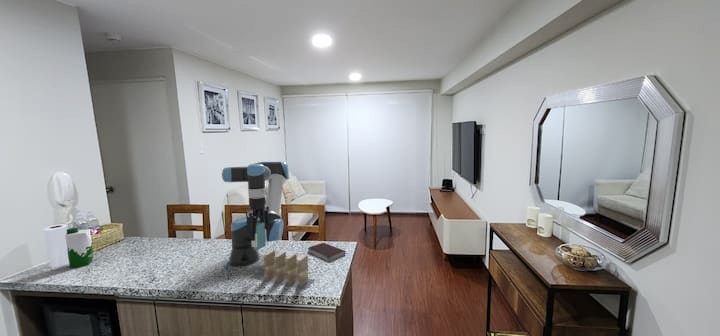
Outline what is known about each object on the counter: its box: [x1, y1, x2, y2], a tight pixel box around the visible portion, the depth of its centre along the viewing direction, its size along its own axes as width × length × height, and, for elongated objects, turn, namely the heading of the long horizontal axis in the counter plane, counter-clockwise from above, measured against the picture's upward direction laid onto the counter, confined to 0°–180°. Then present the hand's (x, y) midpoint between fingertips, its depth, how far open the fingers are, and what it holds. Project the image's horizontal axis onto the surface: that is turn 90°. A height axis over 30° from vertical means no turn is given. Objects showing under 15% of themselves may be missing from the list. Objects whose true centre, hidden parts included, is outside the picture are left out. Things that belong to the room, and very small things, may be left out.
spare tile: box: [254, 222, 266, 251], centre depth 134 cm, size 2×6×12 cm, turn 160°
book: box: [307, 242, 346, 262], centre depth 161 cm, size 12×19×3 cm, turn 47°
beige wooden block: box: [274, 251, 287, 282], centre depth 131 cm, size 2×6×12 cm, turn 160°
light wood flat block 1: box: [263, 249, 276, 280], centre depth 133 cm, size 2×6×12 cm, turn 160°
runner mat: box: [249, 269, 316, 291], centre depth 131 cm, size 31×9×1 cm, turn 70°
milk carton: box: [64, 227, 94, 269], centre depth 149 cm, size 9×9×20 cm
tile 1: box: [297, 254, 309, 287], centre depth 127 cm, size 2×6×12 cm, turn 160°
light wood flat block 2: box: [285, 252, 298, 284], centre depth 129 cm, size 2×6×12 cm, turn 160°
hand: (259, 244), depth 134 cm, fingers closed on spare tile, 6 cm apart
